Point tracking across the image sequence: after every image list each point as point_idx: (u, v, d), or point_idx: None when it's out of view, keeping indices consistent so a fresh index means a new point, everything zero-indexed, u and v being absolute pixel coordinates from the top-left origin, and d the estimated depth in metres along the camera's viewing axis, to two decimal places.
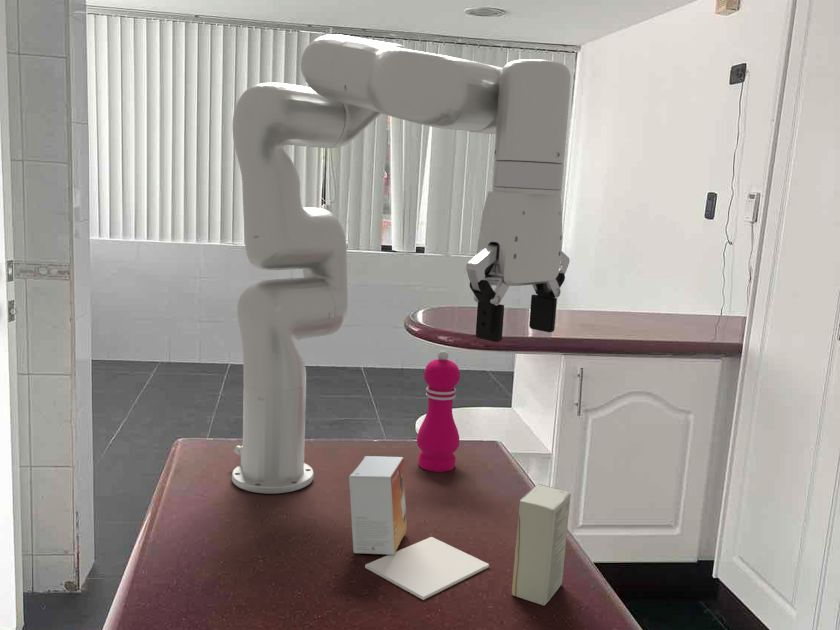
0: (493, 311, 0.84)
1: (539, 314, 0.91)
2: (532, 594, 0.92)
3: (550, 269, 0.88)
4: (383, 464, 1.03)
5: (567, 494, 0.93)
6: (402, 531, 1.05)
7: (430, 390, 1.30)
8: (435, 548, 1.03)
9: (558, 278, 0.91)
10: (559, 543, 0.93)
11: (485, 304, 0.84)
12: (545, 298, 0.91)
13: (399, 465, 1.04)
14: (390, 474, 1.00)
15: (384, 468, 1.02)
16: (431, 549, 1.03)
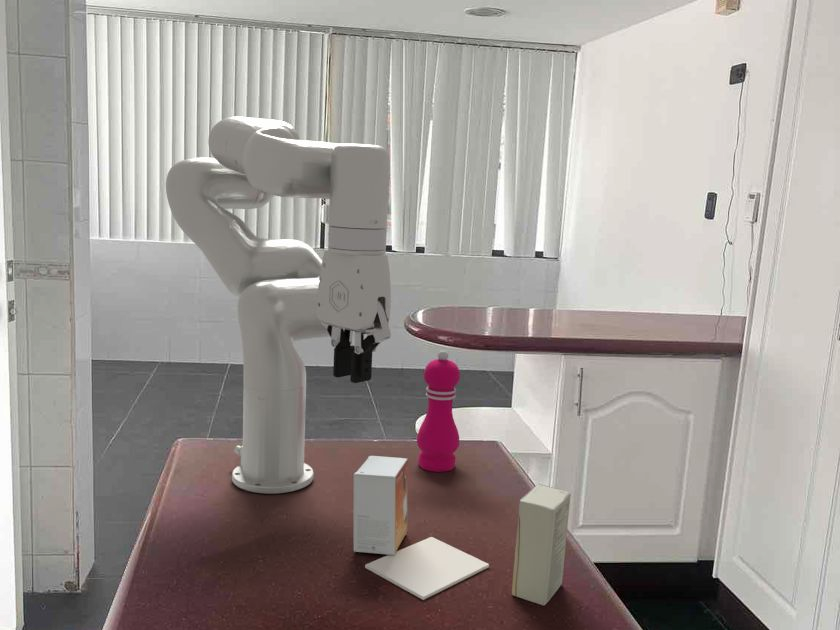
0: None
1: (345, 362, 1.06)
2: (532, 594, 0.92)
3: None
4: (387, 464, 1.04)
5: (567, 494, 0.93)
6: (402, 532, 1.05)
7: (430, 390, 1.30)
8: (435, 548, 1.03)
9: None
10: (559, 543, 0.93)
11: (367, 353, 1.03)
12: (348, 348, 1.06)
13: (403, 466, 1.04)
14: (395, 474, 1.00)
15: (389, 468, 1.02)
16: (431, 549, 1.03)
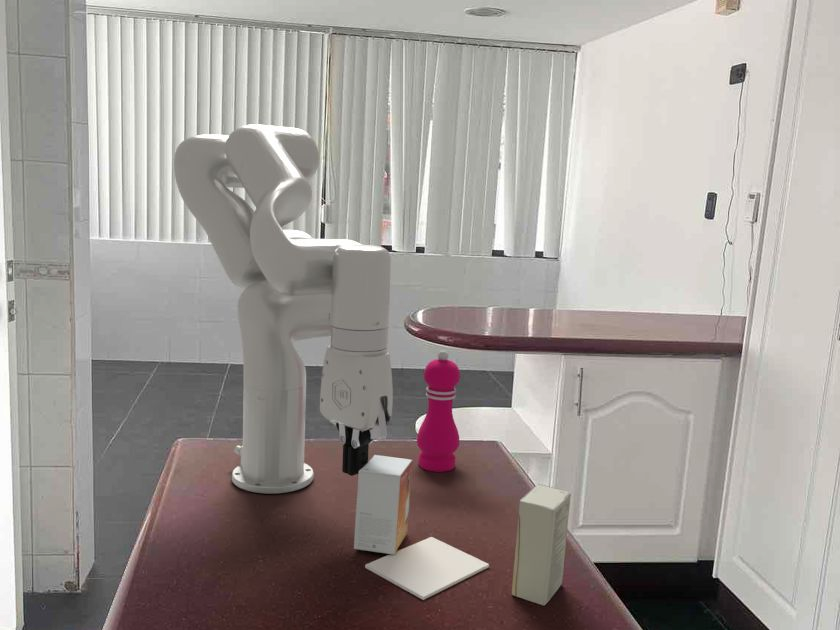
0: None
1: None
2: (532, 594, 0.92)
3: None
4: (392, 464, 1.04)
5: (567, 494, 0.93)
6: (403, 533, 1.05)
7: (430, 390, 1.30)
8: (435, 548, 1.03)
9: None
10: (559, 543, 0.93)
11: (363, 446, 1.05)
12: None
13: (408, 466, 1.04)
14: (400, 473, 1.00)
15: (394, 467, 1.02)
16: (431, 549, 1.03)
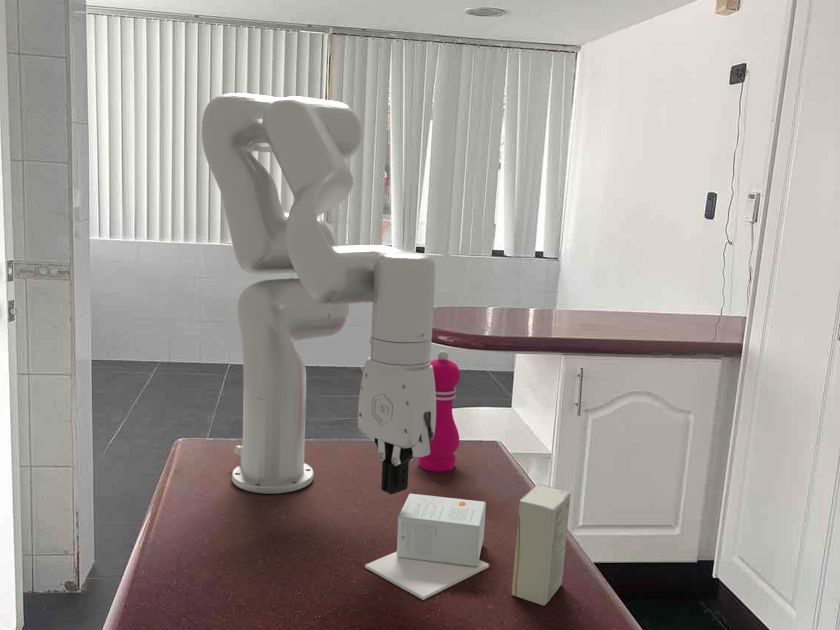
0: None
1: None
2: (532, 594, 0.92)
3: None
4: (482, 537, 1.02)
5: (567, 494, 0.93)
6: None
7: None
8: None
9: None
10: (559, 543, 0.93)
11: (404, 464, 1.00)
12: None
13: None
14: None
15: None
16: None
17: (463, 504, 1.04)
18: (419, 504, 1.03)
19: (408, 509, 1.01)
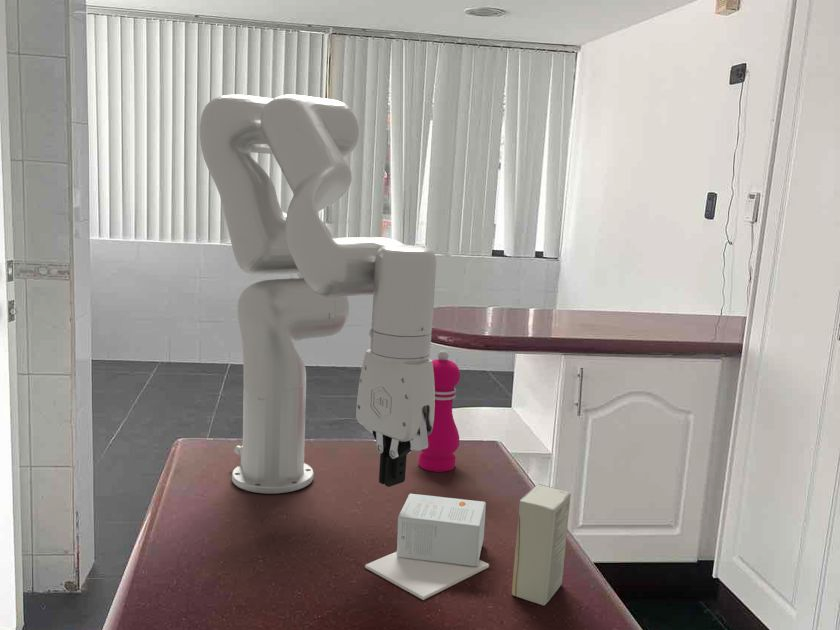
0: None
1: None
2: (532, 594, 0.92)
3: None
4: (482, 537, 1.02)
5: (567, 494, 0.93)
6: None
7: None
8: None
9: None
10: (559, 543, 0.93)
11: (402, 457, 1.00)
12: None
13: None
14: None
15: None
16: None
17: (463, 504, 1.04)
18: (419, 504, 1.03)
19: (408, 509, 1.01)
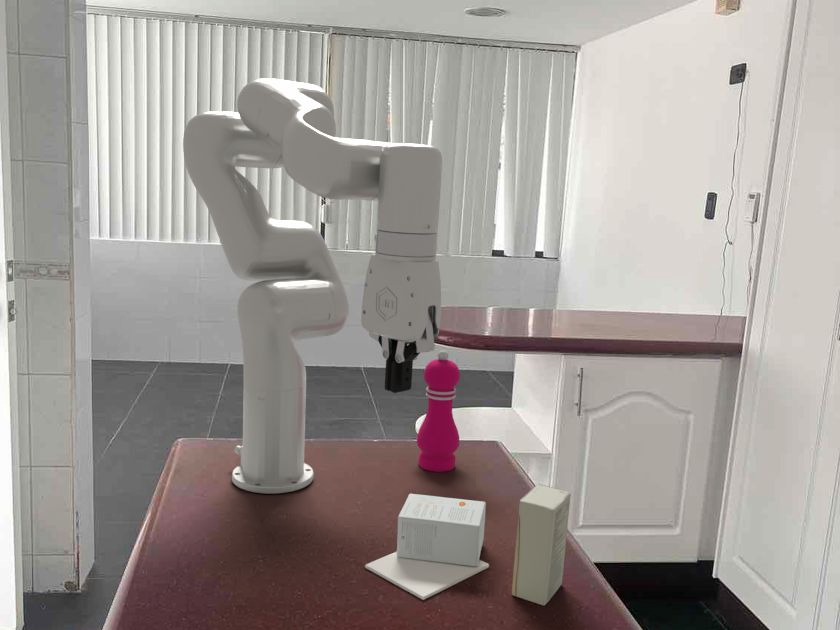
0: None
1: None
2: (532, 594, 0.92)
3: None
4: (482, 537, 1.02)
5: (567, 494, 0.93)
6: None
7: (430, 390, 1.30)
8: None
9: None
10: (559, 543, 0.93)
11: (408, 362, 0.99)
12: None
13: None
14: None
15: None
16: None
17: (463, 504, 1.04)
18: (419, 504, 1.03)
19: (408, 509, 1.01)
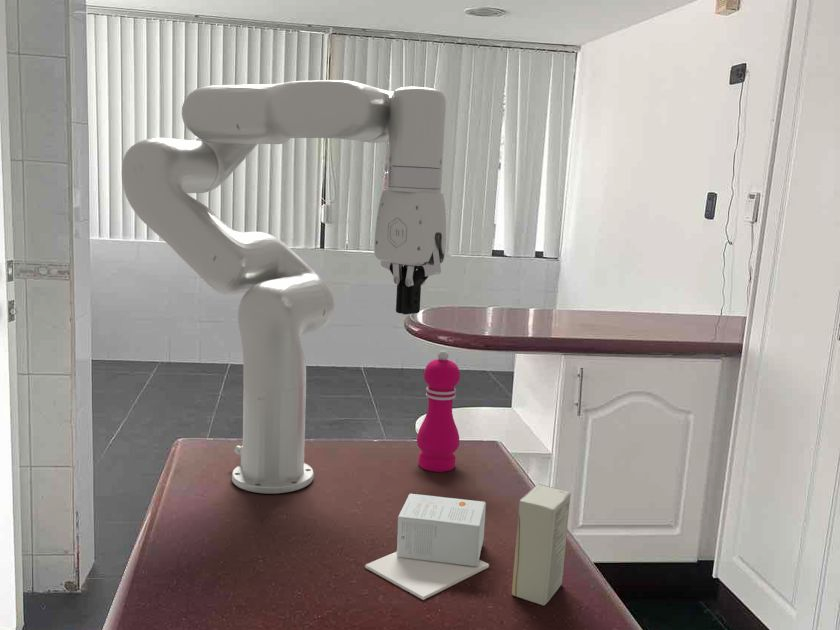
0: None
1: None
2: (532, 594, 0.92)
3: None
4: (482, 537, 1.02)
5: (567, 494, 0.93)
6: None
7: (430, 390, 1.30)
8: None
9: (402, 264, 1.12)
10: (559, 543, 0.93)
11: (417, 286, 1.10)
12: None
13: None
14: None
15: None
16: None
17: (463, 504, 1.04)
18: (419, 504, 1.03)
19: (408, 509, 1.01)
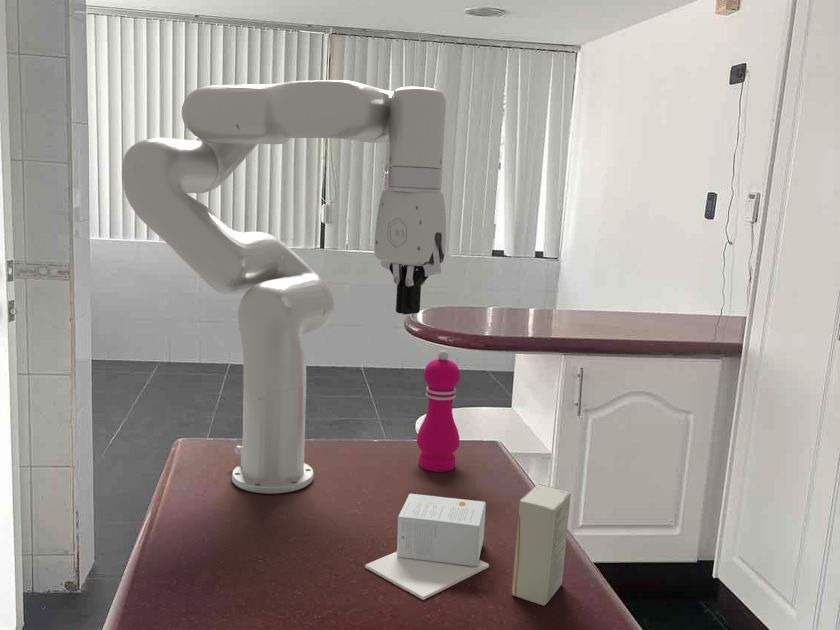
0: None
1: None
2: (532, 594, 0.92)
3: None
4: (482, 537, 1.02)
5: (567, 494, 0.93)
6: None
7: (430, 390, 1.30)
8: None
9: (402, 264, 1.12)
10: (559, 543, 0.93)
11: (417, 286, 1.10)
12: None
13: None
14: None
15: None
16: None
17: (463, 504, 1.04)
18: (419, 504, 1.03)
19: (408, 509, 1.01)
